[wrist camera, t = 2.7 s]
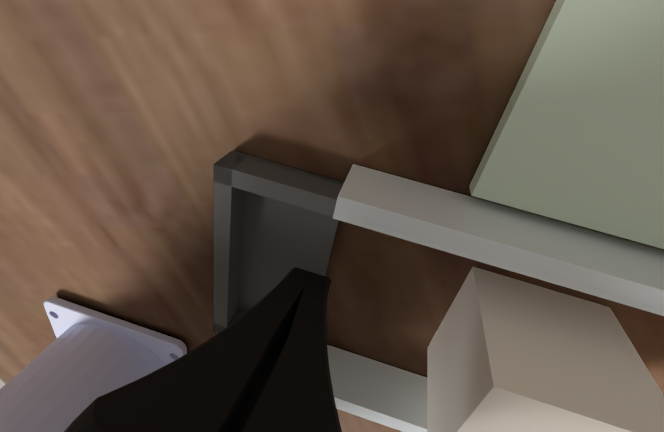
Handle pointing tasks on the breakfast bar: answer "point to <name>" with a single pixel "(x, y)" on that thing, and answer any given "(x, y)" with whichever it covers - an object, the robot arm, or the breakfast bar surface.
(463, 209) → the white bars
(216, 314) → the tray
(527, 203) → the pad
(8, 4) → the breakfast bar surface
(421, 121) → the breakfast bar surface
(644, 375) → the block
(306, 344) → the robot arm
